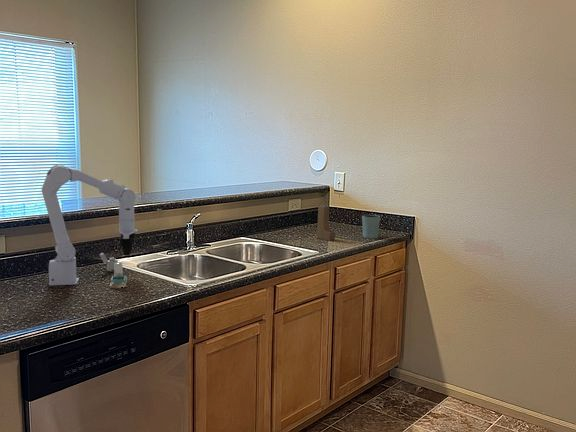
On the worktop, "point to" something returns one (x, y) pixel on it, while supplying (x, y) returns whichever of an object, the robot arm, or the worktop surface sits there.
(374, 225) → the drinking glass
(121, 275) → the pin
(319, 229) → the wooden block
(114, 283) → the pin board
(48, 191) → the robot arm
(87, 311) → the worktop surface
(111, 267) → the grey lever block
